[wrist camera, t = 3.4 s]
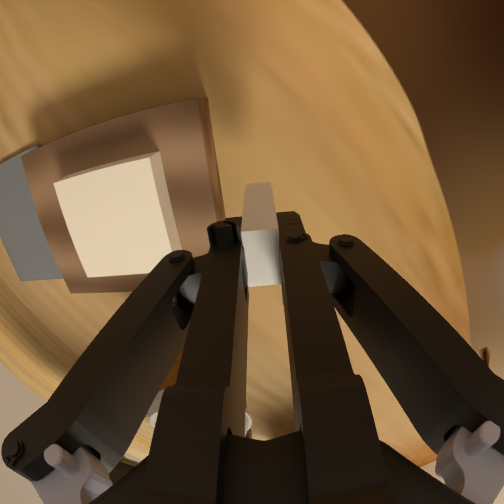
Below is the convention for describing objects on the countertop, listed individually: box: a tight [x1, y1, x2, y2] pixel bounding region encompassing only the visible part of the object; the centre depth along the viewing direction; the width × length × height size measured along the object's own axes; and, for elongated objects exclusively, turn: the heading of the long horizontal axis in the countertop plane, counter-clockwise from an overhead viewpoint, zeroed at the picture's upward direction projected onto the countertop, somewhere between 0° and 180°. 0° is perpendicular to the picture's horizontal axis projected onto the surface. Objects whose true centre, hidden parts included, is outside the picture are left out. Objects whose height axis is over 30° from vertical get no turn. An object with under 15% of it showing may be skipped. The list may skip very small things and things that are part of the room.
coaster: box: [53, 151, 182, 277], centre depth 18 cm, size 8×8×2 cm
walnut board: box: [21, 98, 226, 293], centre depth 21 cm, size 14×16×4 cm
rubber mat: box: [0, 144, 63, 281], centre depth 24 cm, size 15×12×1 cm
